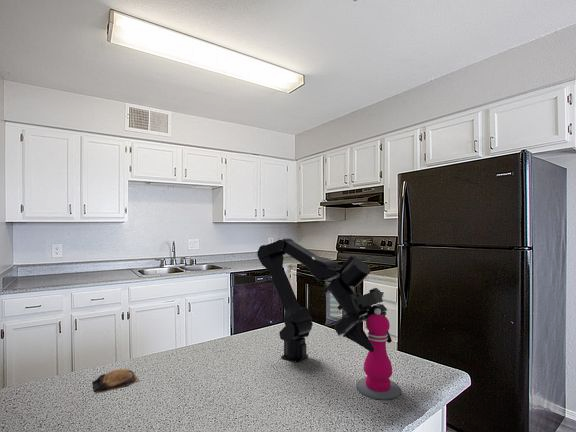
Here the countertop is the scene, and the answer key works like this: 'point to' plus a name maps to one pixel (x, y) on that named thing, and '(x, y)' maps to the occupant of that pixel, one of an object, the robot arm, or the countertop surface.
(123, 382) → the brown oval lump
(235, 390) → the countertop surface
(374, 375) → the pepper mill
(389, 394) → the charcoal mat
